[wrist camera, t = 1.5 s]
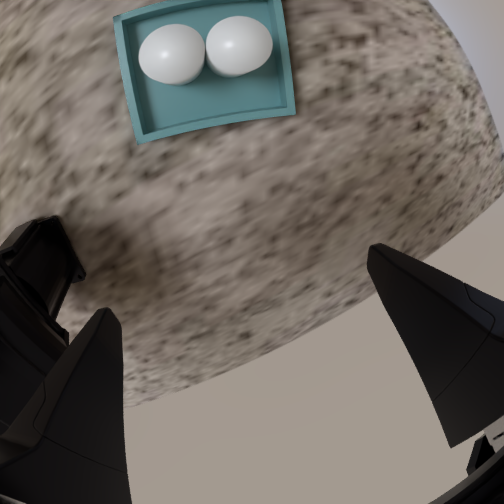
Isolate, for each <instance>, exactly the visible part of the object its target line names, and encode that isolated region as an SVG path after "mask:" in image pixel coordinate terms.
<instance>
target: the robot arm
mask: <svg viewBox="0 0 504 504" xmlns="http://www.w3.org/2000/svg"><path fill="white" fill-rule="evenodd" d="M52 221H54V223H55V224H53V222H52ZM367 270H368V272H369V274H370V277H371V279H372V281H373V283H374V285H375V287H376V290H377V292H378V294H379V297H380V299H381V301H382V303H383V305H384V307H385V309H386V311H387V313H388V315H389V316H390V318H391V320H392V322H393V323H394V325H395V327H396V329H397V331H398V333H399V335H400V337H401V339H402V341H403V342H404V344H405V346H406V348H407V350H408V352H409V354H410V356H411V358H412V360H413V362H414V364H415V366H416V368H417V370H418V372H419V375H420V377H421V379H422V381H423V383H424V385H425V387H426V390H427V392H428V394H429V396H430V398H431V401H432V404H433V406H434V408H435V411H436V413H437V415H438V418H439V420H440V423H441V425H442V428H443V430H444V433H445V436H446V438H447V441H448V444H449V446H450V448H452V447H455V446H456V445H458V444H460V443H462V442H463V441H465V440H467V439H469V438H470V437H472V436H474V435H475V434H477V433H479V432H480V431H482V430H484V432H485V433H484V434H483V435H482V436H481V437H480V438H479V439H477V440H476V441H475V444H474V447H473V451H472V454H471V457H470V460H469V463H468V466H467V469H466V470H467V473H468V477H467V478H466V479H464V480H463V481H462V482H460V483H459V484H457V485H456V486H455V487H453V488H452V489H450V490H449V491H448V492H446V493H445V494H443V495H441V496H440V497H438V498H437V499H435V500H434V501H432V502H430V503H429V504H504V301H501V300H499V299H497V298H495V297H493V296H491V295H488V294H486V293H484V292H482V291H480V290H478V289H476V288H474V287H472V286H470V285H468V284H466V283H463V282H462V281H460V280H458V279H456V278H454V277H452V276H450V275H448V274H446V273H444V272H442V271H440V270H438V269H436V268H434V267H432V266H430V265H428V264H426V263H424V262H421V261H419V260H417V259H415V258H413V257H411V256H409V255H406V254H404V253H402V252H400V251H398V250H395V249H393V248H391V247H389V246H386V245H384V244H382V243H378V244H374V245H371V246H370V247H369V251H368V259H367ZM79 274H80V275H81V276H80V275H79ZM85 277H86V273H85V271H84V269H83V268H82V266H81V264H80V262H79V260H78V258H77V256H76V254H75V253H74V251H73V249H72V247H71V245H70V243H69V241H68V239H67V236H66V234H65V232H64V230H63V228H62V226H61V224H60V221H59V219H58V218H57V217H56V216H51V217H48V218H46V219H43V220H41V221H38V222H37V221H36V220H32V221H30V222H27V223H25V224H23V225H20V226H18V227H16V228H15V230H14V231H13V232H12V233H11V234H10V235H9V236H8V238H7V239H6V240H5V241H4V242H3V244H2V245H1V246H0V504H132V501H131V494H130V487H129V481H128V474H127V464H126V453H125V440H124V420H123V349H122V327H121V324H120V322H119V320H118V319H117V318H116V316H115V315H114V313H113V312H112V310H111V309H110V308H108V307H106V308H101V309H98V310H97V311H96V312H95V314H94V315H93V316H92V317H91V318H90V320H89V321H88V322H87V323H86V325H85V326H84V327H83V328H82V330H81V331H80V332H79V333H78V335H77V336H76V337H75V338H74V340H73V341H72V342H71V344H70V345H69V332H68V331H67V330H66V329H65V328H62V327H61V326H60V325H59V324H58V323H57V322H56V318H57V316H58V313H59V311H60V308H61V306H62V303H63V301H64V298H65V296H66V294H67V291H68V289H69V287H70V285H71V283H76V282H80V281H83V280H84V279H85Z"/></svg>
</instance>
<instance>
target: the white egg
mask: <svg viewBox="0 0 504 504" xmlns="http://www.w3.org/2000/svg"><path fill="white" fill-rule="evenodd" d="M204 58H205V44H204V41H203V39H202V37H201V35H200V34H199V33H198V32H197V31H196V30H195V29H193V28H191V27H189V26H186V25H182V24H170V25H166V26H162V27H160V28H158V29H156V30H155V31H153V32H152V33H151V34H149V35H148V36H147V38H146V39H145V40H144V42H143V43H142V45H141V47H140V50H139V63H140V66H141V69H142V70H143V72H144V73H145V74H146V75H147V76H148V77H150V78H151V79H153V80H156V81H159V82H162V83H164V84H167V85H171V86H181V85H185V84H188V83H190V82H192V81H193V80H195V79H196V78H197V77H198V76H199V75H200V73H201V71H202V69H203V66H204Z"/></svg>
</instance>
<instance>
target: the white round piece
mask: <svg viewBox="0 0 504 504" xmlns="http://www.w3.org/2000/svg"><path fill="white" fill-rule="evenodd" d="M272 46H273V42H272V38H271V35H270V33H269V31H268V30H267V28H266V27H265V26H264V25H263V24H262V23H260V22H259V21H257V20H255V19H253V18H250V17H245V16H233V17H228V18H226V19H223V20H221V21H220V22H218V23H217V24H215V25H214V26H213V27H212V29H211V30H210V31H209V33H208V36H207V39H206V49H205V60H206V63H207V65H208V67H209V68H210V70H211V71H212V72H214V73H215V74H217V75H219V76H222V77H226V78H234V77H238V76H241V75H244V74H246V73H248V72H250V71H252V70H255V69H257V68H259V67H260V66H261V65H263V64H264V63H265V62H266V61H267V59H268V58H269V56H270V54H271V51H272Z"/></svg>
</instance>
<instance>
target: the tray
mask: <svg viewBox="0 0 504 504" xmlns="http://www.w3.org/2000/svg"><path fill="white" fill-rule="evenodd" d="M233 16H245V17H250V18H253V19H255V20H257V21H259V22H260V23H262V24H263V25H264V26H265V27H266V28H267V30H268V31H269V33H270V35H271V38H272V42H273V46H272V51H271V54H270V56H269V58H268V59H267V61H266V62H265V63H264V64H263V65H261V66H260V67H259V68H257V69H255V70H252V71H250V72H248V73H246V74H244V75H241V76H238V77H234V78H226V77H222V76H219V75H217V74H215V73H214V72H212V71H211V70H210V68H209V67H208V65H207V63H206V60H205V58H204V66H203V69H202V71H201V73H200V75H199V76H198V77H197V78H196V79H195V80H193V81H192V82H190V83H188V84H185V85H181V86H171V85H167V84H164V83H162V82H159V81H156V80H153V79H151V78H150V77H148V76H147V75H146V74H145V73H144V72H143V70H142V69H141V66H140V63H139V50H140V47H141V45H142V43H143V42H144V40H145V39H146V38H147V36H148V35H149V34H151V33H152V32H153V31H155V30H156V29H158V28H160V27H162V26H166V25H170V24H182V25H186V26H189V27H191V28H193V29H195V30H196V31H197V32H198V33H199V34H200V35H201V37H202V39H203V41H204V44H205V49H206V39H207V36H208V33H209V31H210V30H211V29H212V27H213V26H214V25H215V24H217V23H218V22H220V21H221V20H223V19H226V18H228V17H233ZM113 22H114V30H115V37H116V44H117V51H118V57H119V63H120V68H121V74H122V79H123V84H124V89H125V94H126V99H127V103H128V108H129V112H130V117H131V121H132V125H133V129H134V133H135V137H136V141H137V145H139V144H142V143H146V142H149V141H153V140H156V139H160V138H164V137H168V136H172V135H176V134H180V133H184V132H188V131H193V130H197V129H202V128H207V127H212V126H217V125H223V124H228V123H234V122H240V121H247V120H254V119H261V118H269V117H277V116H287V115H296V111H295V101H294V91H293V82H292V73H291V65H290V57H289V49H288V42H287V35H286V28H285V21H284V15H283V9H282V3H281V0H168V1H164V2H160V3H156V4H152V5H149V6H145V7H142V8H138V9H135V10H132V11H129V12H126V13H123V14H120V15H117V16H115V17H113Z"/></svg>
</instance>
